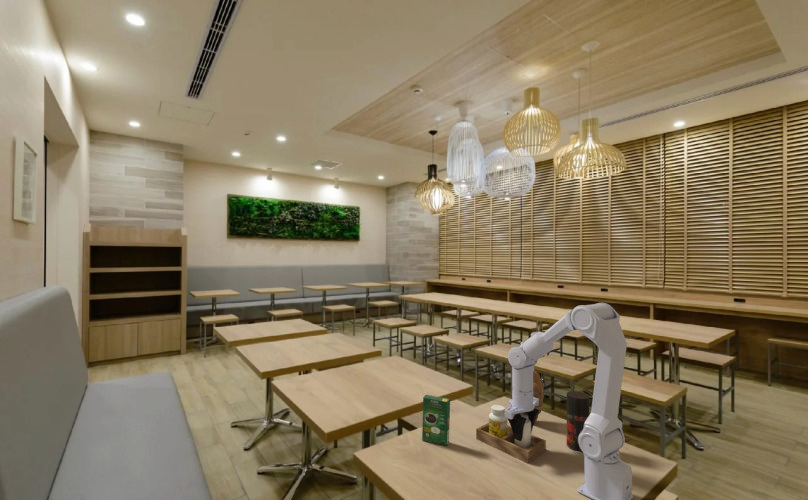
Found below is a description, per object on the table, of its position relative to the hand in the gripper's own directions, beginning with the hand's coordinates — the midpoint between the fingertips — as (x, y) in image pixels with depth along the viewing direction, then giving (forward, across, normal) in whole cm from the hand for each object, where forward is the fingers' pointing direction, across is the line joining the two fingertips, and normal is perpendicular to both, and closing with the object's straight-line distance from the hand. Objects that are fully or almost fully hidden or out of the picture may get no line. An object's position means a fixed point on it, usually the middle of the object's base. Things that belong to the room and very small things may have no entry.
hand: (522, 436), depth 106 cm
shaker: (+2, 0, 0) cm, 3 cm away
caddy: (+4, 0, -4) cm, 6 cm away
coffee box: (+4, +15, -20) cm, 25 cm away
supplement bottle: (+4, 0, -8) cm, 9 cm away
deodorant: (+4, -14, +9) cm, 17 cm away
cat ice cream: (+4, -18, -8) cm, 20 cm away
